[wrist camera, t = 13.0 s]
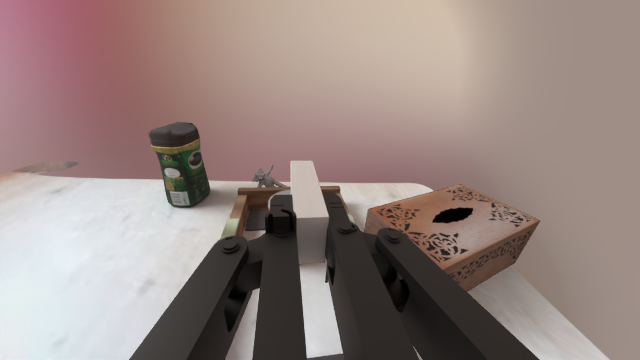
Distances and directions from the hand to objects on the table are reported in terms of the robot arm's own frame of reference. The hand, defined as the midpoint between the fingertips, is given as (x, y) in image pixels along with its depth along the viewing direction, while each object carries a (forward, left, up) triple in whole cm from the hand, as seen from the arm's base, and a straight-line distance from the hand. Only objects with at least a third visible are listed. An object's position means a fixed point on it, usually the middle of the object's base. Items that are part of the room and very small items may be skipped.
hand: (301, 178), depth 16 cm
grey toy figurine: (+42, +5, -24) cm, 48 cm away
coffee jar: (+38, +25, -24) cm, 52 cm away
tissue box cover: (+14, -27, -24) cm, 39 cm away
